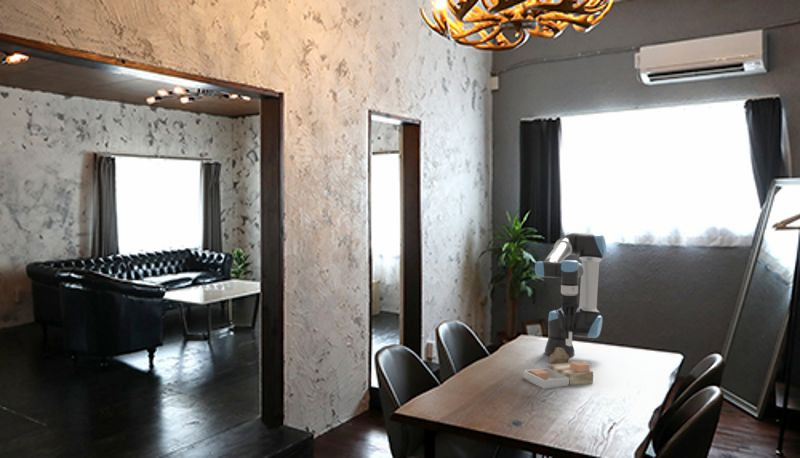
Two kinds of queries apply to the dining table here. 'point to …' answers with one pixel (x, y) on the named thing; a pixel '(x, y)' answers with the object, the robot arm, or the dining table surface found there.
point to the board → (573, 374)
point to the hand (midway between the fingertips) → (568, 345)
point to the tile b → (580, 366)
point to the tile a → (540, 374)
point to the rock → (558, 356)
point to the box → (553, 381)
